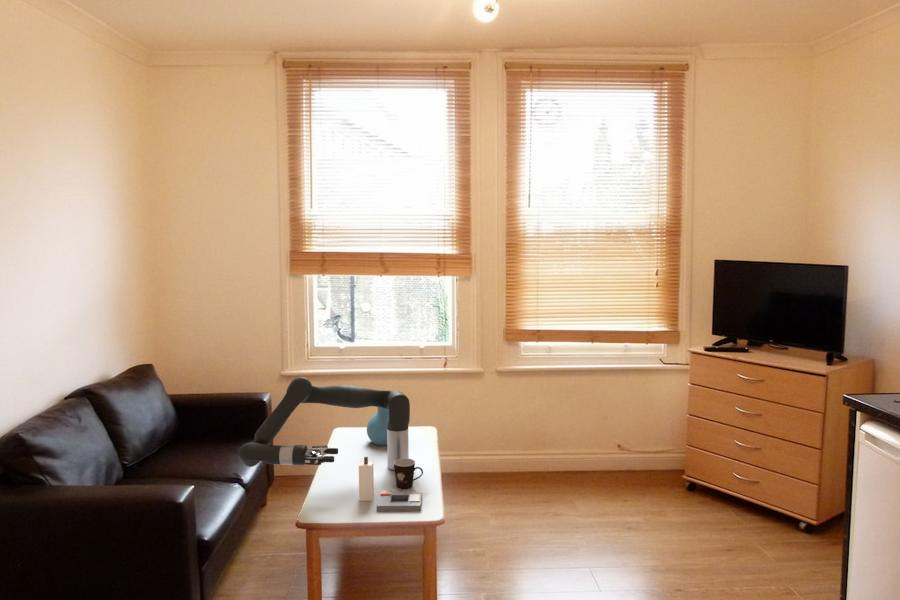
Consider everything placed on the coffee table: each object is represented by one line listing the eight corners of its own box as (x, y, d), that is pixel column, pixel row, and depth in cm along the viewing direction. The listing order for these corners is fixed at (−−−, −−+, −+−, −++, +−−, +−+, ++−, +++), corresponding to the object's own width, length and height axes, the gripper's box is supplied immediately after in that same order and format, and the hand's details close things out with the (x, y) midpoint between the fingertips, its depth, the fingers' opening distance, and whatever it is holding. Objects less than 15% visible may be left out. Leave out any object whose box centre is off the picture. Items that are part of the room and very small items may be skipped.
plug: (360, 496, 237) (360, 455, 236) (373, 495, 237) (373, 455, 236) (359, 501, 233) (358, 459, 231) (372, 500, 233) (371, 459, 231)
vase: (376, 450, 287) (375, 398, 285) (361, 440, 301) (360, 390, 298) (407, 443, 296) (406, 393, 294) (391, 434, 310) (390, 386, 307)
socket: (379, 497, 236) (379, 490, 236) (421, 496, 236) (421, 490, 236) (376, 511, 224) (376, 504, 224) (420, 510, 225) (420, 503, 224)
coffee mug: (389, 486, 246) (389, 462, 245) (405, 480, 252) (405, 456, 251) (408, 494, 238) (408, 470, 237) (424, 488, 244) (424, 464, 243)
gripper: (288, 451, 225) (332, 452, 226) (297, 439, 239) (339, 439, 240) (289, 471, 226) (333, 471, 226) (297, 457, 240) (339, 457, 240)
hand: (336, 455), depth 233 cm, fingers open, 8 cm apart
